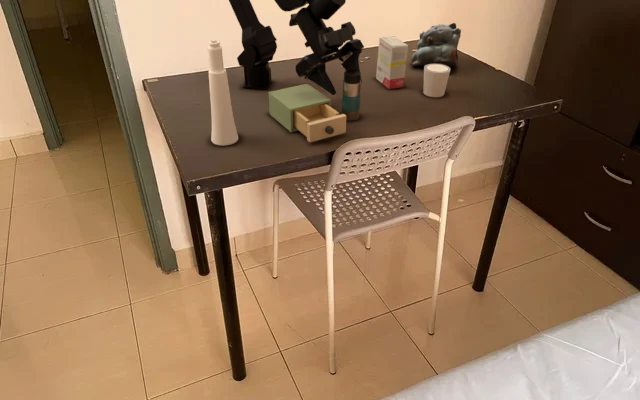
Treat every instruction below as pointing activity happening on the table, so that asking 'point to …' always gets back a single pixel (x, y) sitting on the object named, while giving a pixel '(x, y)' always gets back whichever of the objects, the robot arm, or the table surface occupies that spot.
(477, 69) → the table surface
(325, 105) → the drawer
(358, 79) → the thermos flask
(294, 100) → the drawer unit
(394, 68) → the ink box
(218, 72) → the cosmetic bottle
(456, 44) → the lucky cat figurine
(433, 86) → the white cylinder
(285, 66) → the table surface
